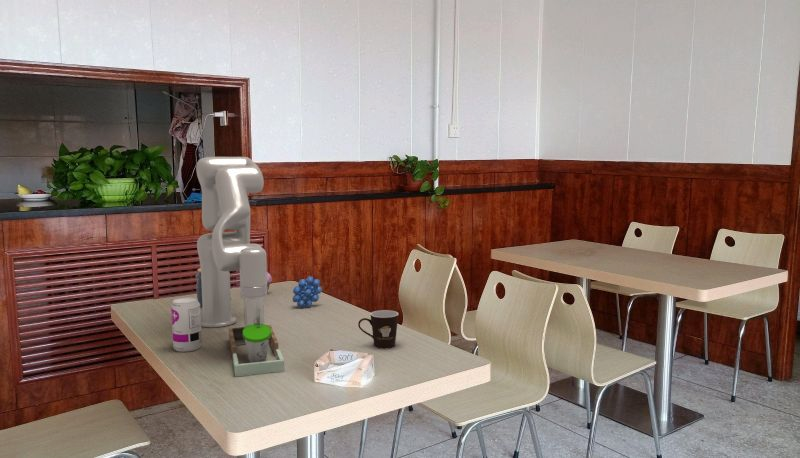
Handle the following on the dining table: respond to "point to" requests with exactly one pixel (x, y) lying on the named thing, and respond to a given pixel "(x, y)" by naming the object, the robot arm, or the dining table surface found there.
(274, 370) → the bay
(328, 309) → the dining table surface
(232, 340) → the brown wooden tray
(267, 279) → the cupcake
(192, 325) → the supplement can
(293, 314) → the dining table surface
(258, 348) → the cup
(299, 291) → the grapes
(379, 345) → the coffee mug
